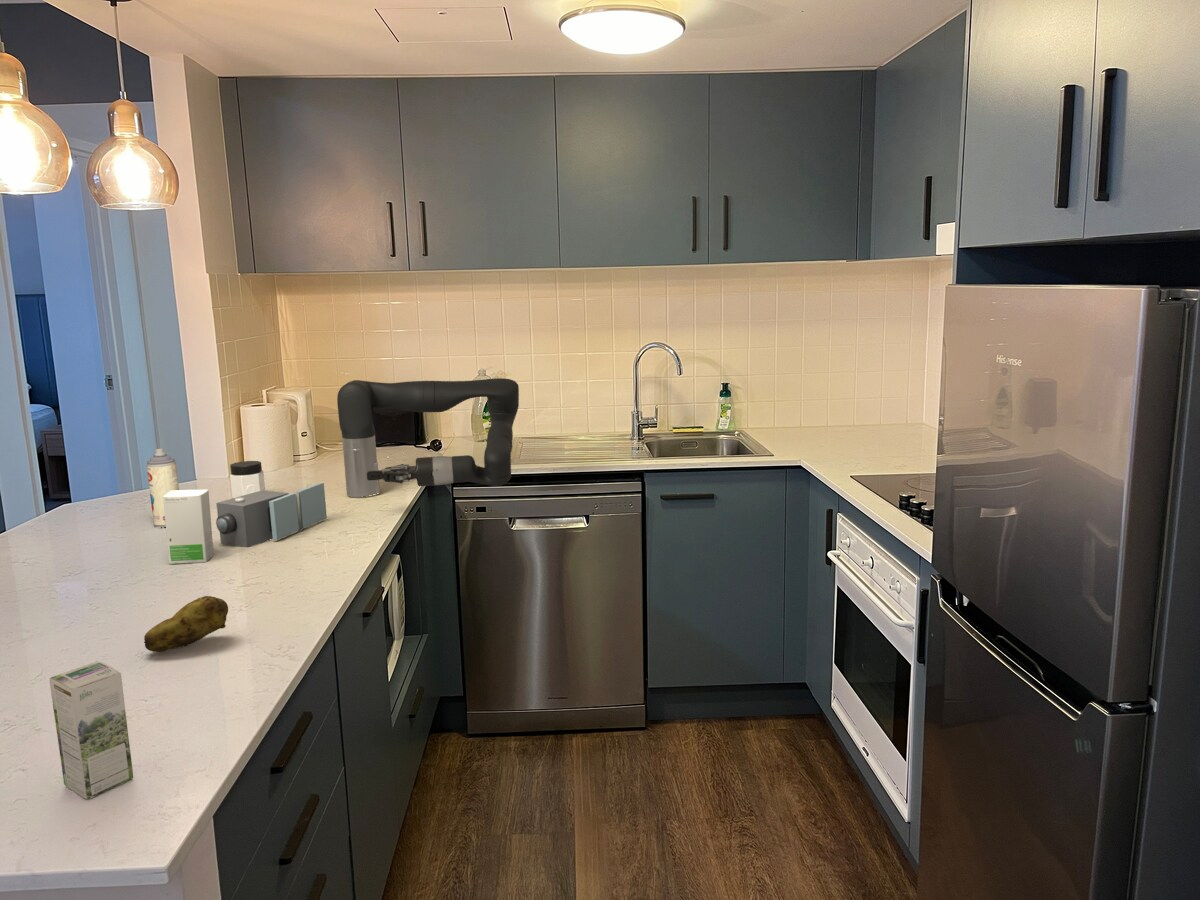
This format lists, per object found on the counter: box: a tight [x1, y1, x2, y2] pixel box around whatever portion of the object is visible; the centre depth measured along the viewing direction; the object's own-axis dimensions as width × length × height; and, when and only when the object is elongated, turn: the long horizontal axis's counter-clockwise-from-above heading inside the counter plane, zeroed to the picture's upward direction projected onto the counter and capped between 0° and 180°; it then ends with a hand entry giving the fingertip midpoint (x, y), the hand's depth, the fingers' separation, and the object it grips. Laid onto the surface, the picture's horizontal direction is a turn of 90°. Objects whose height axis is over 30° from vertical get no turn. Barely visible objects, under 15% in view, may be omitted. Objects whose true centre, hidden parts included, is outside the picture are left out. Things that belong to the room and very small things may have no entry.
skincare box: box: [163, 489, 214, 565], centre depth 196 cm, size 8×7×16 cm
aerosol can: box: [146, 448, 180, 528], centre depth 227 cm, size 7×7×20 cm
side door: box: [269, 482, 328, 541], centre depth 218 cm, size 20×1×10 cm, turn 163°
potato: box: [143, 595, 229, 653], centre depth 148 cm, size 8×13×8 cm, turn 105°
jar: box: [229, 460, 266, 499], centre depth 246 cm, size 9×8×12 cm
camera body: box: [215, 489, 290, 548], centre depth 212 cm, size 16×9×11 cm, turn 153°
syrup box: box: [49, 660, 134, 800], centre depth 106 cm, size 6×6×14 cm
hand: (367, 475), depth 227 cm, fingers closed
